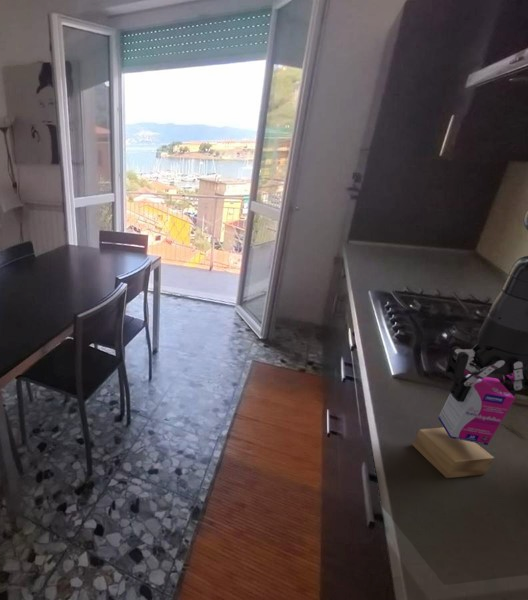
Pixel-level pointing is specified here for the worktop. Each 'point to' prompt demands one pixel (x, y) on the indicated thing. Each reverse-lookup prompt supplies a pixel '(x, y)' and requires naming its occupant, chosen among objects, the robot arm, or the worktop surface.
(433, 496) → the worktop surface
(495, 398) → the supplement box
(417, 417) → the worktop surface
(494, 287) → the worktop surface
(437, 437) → the maple block
